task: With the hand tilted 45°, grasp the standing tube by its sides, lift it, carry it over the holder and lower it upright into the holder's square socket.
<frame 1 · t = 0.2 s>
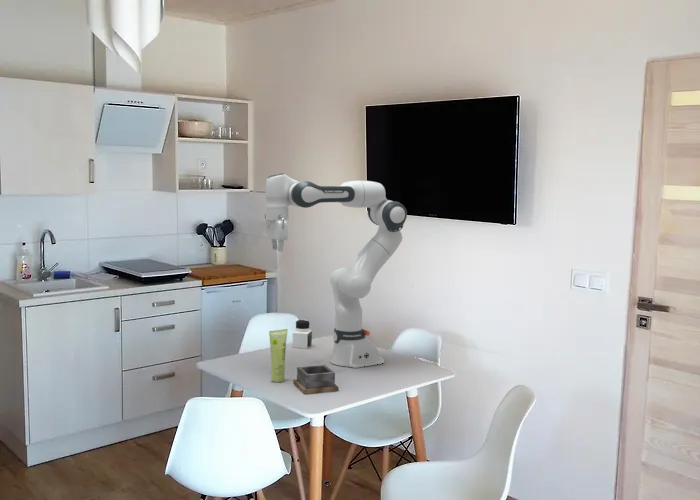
hand: (277, 250, 267), 47 cm above the table, tool pointing down, fingers open, 8 cm apart
holder: (315, 387, 249), on the table
medicine bottle: (302, 346, 308), on the table
tube: (277, 381, 256), on the table
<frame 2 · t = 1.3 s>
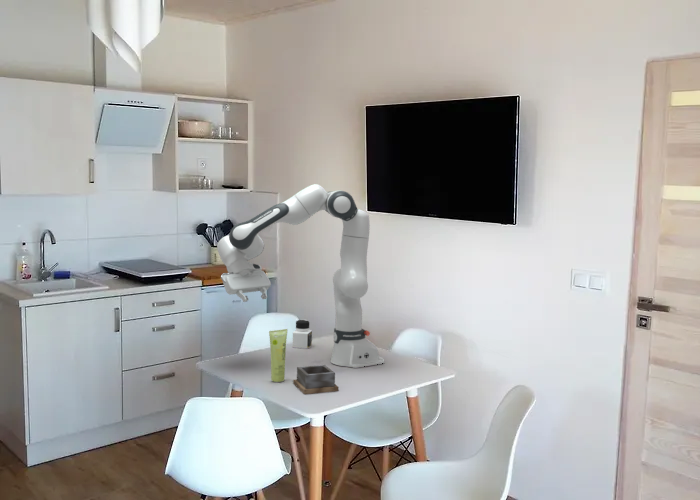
hand: (255, 299, 265), 28 cm above the table, tool tilted 45°, fingers open, 8 cm apart
nothing on the table moved.
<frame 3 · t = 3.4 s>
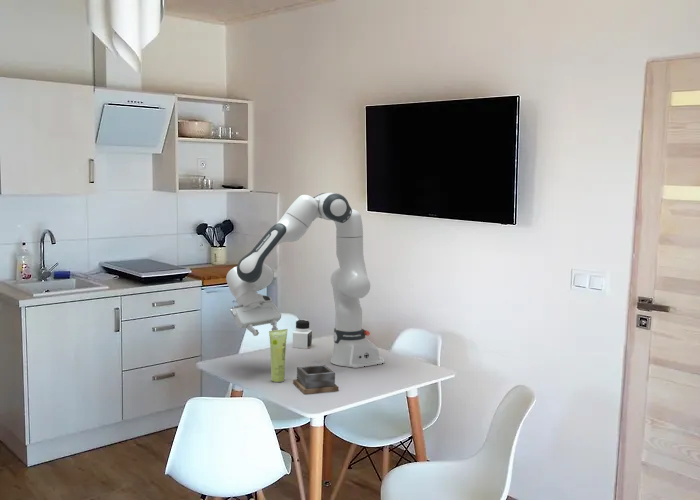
hand: (266, 333, 259), 17 cm above the table, tool tilted 45°, fingers open, 8 cm apart
nothing on the table moved.
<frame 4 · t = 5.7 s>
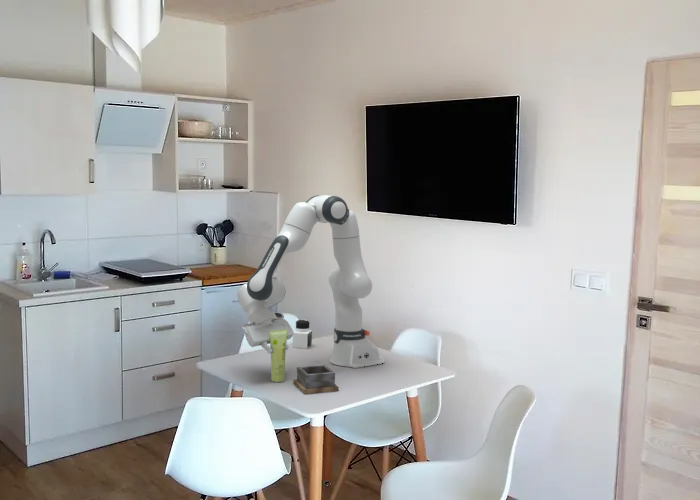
hand: (278, 351, 255), 11 cm above the table, tool tilted 45°, fingers closed on tube, 6 cm apart
tube: (277, 381, 256), on the table, touching gripper
everything else where it was.
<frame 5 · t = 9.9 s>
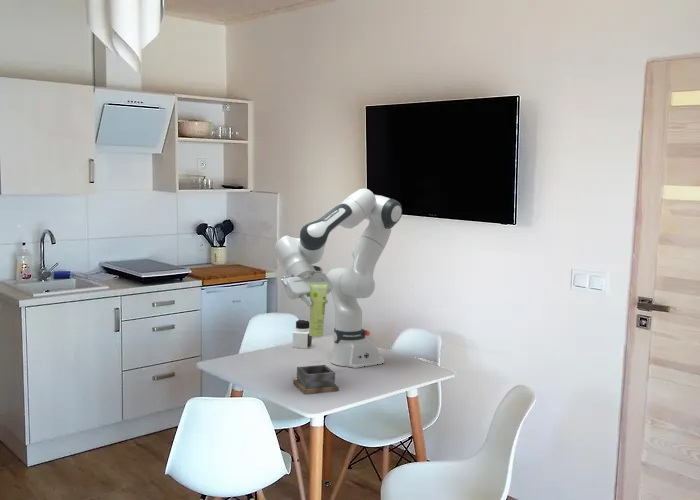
hand: (318, 304, 246), 31 cm above the table, tool tilted 45°, fingers closed on tube, 6 cm apart
tube: (315, 336, 247), point 19 cm above the table, touching gripper
everything else where it was.
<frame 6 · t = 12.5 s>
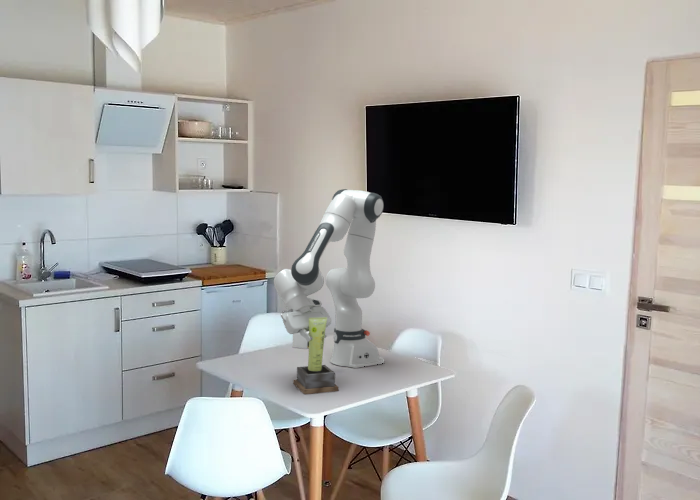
hand: (317, 339, 247), 18 cm above the table, tool tilted 45°, fingers closed on tube, 6 cm apart
tube: (314, 370, 248), point 6 cm above the table, touching gripper
everything else where it was.
when the fingers open (14 cm above the table, at t = 14.2 s): tube moves 2 cm, resting on holder.
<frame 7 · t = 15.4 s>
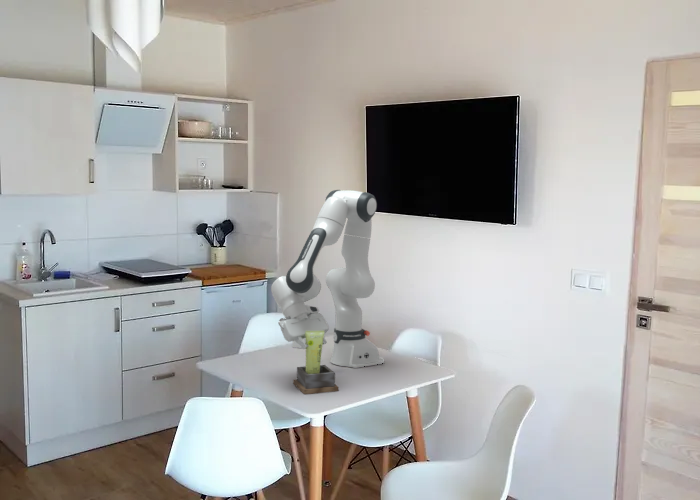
hand: (315, 345, 248), 15 cm above the table, tool tilted 45°, fingers open, 8 cm apart
tube: (311, 384, 248), point 2 cm above the table, touching holder
everything else where it was.
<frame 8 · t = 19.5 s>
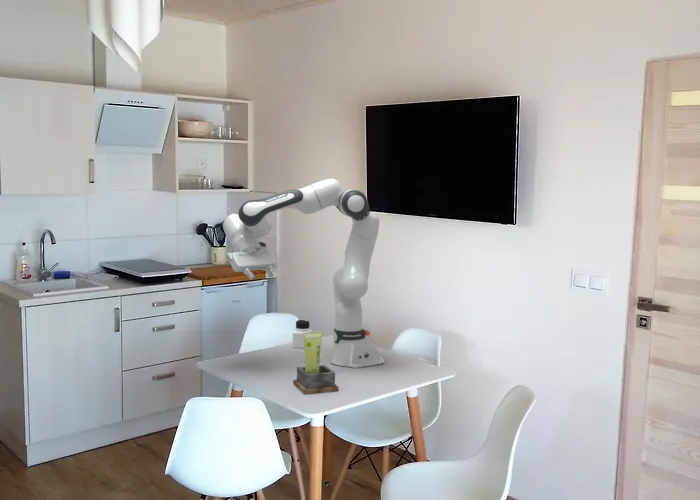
hand: (262, 277, 263), 37 cm above the table, tool tilted 45°, fingers open, 8 cm apart
at the end: tube 1.8 cm off-centre on the holder, point 1.3 cm above the holder's base; tube tilted 0°; the gripper is holding nothing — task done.
